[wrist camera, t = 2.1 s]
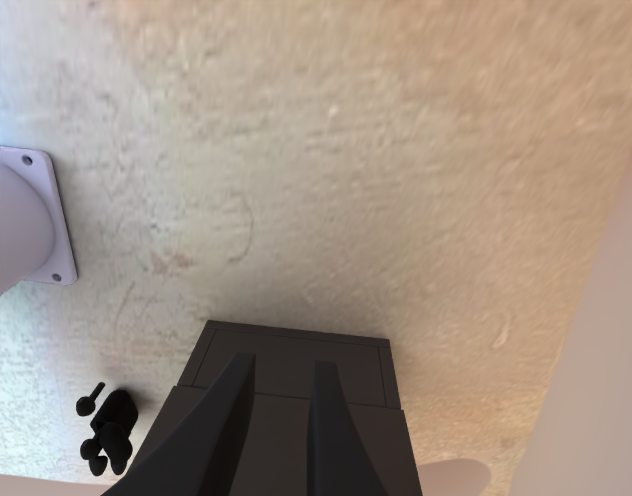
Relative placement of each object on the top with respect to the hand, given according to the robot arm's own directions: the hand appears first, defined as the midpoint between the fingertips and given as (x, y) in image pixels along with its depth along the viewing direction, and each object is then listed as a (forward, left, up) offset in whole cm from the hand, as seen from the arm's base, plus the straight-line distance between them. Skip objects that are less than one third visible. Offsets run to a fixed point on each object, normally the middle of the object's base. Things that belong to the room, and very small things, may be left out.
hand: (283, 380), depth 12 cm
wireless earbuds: (-12, -14, -11) cm, 21 cm away
